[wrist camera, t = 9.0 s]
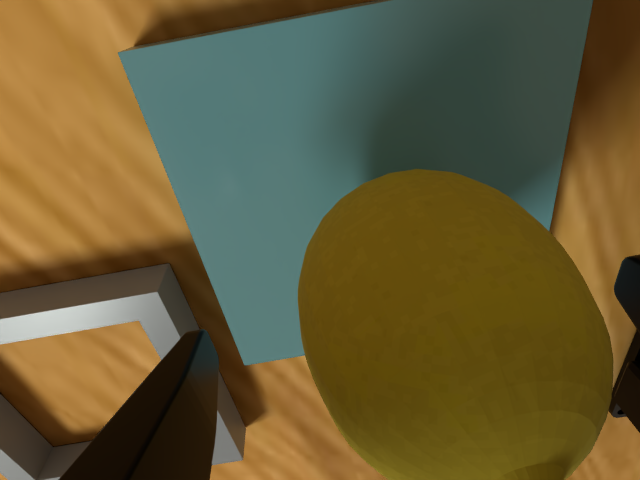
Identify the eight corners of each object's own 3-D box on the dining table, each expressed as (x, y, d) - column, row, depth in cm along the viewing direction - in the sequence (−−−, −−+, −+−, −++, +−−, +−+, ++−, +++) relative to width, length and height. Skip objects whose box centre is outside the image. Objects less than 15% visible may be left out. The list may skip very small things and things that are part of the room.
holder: (169, 263, 13) (157, 292, 12) (245, 428, 19) (243, 460, 18) (-112, 312, 14) (-153, 345, 12) (44, 461, 19) (26, 495, 18)
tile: (573, -38, 10) (600, -40, 9) (519, 299, 16) (533, 317, 15) (132, 46, 10) (117, 53, 9) (246, 345, 16) (244, 365, 15)
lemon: (445, 86, 10) (827, 298, 3) (483, 246, 13) (722, 524, 6) (250, 179, 11) (242, 512, 4) (330, 311, 14) (401, 624, 7)
